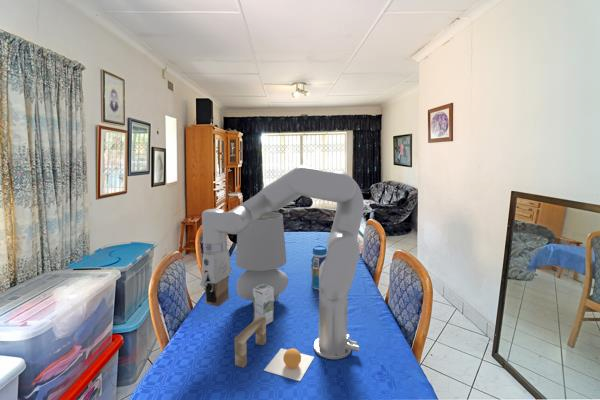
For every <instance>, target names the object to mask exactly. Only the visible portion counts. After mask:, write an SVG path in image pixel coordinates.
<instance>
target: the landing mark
mask: <svg viewBox="0 0 600 400" xmlns="http://www.w3.org/2000/svg"><path fill="white" fill-rule="evenodd" d="M287 350H288V349H286V348H282V347H281V348H280V349H279V351H277V353H276V354H275V355H274V356H273V358H272V359H271V360H270V362H269V363H268V364H267V365H266V367H265V368H264V369H263V372H267V373H271V374H274V375H278V376H280V377H284V378H287V379H291V380H294V381H297V382H301V380H302V379H303V377H304V375H306V372H307V371H308V369H309V367H310V365H312V362H313V360H314V359H315V356H313V355H308V354H305V353H301V352H299V353H300V355H301V362H300V364H299V365H298V366H297V367H295V368H289V367H287V366H286V365H285V363H284V359H283V357H284V354H285V352H286V351H287Z"/></svg>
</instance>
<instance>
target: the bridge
mask: <svg viewBox="0 0 600 400" xmlns="http://www.w3.org/2000/svg"><path fill="white" fill-rule="evenodd" d="M254 334H255V344H256V345H260V346H264V345H265V344H266V343H267V325H266V318H263V317H259V316H258V317H257V318H256V319H255V320H254V319H253V321H252V322H251V323H250V324H248V325H247V326H246V327H245V328H244V329H243V330H242V331H240V332H239V333H238V335H236V336H235V337H234V339H233V340H234V341H233V342H234V364H235V365H234V366H237V367H240V368H245V367H246V366H247V364H248V359H247V358H248V356H247V355H248V353H247V352H248V351H247V348H248V347H247V341H248V340H249V338H251V337H252V336H253V335H254Z"/></svg>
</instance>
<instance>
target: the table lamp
mask: <svg viewBox="0 0 600 400" xmlns="http://www.w3.org/2000/svg"><path fill="white" fill-rule="evenodd" d="M285 238H286V237H285V228H284V215H283V214H282V213H280V212H276V211H271V212H269V213H267V214H265V215H263V216H262V217H260V218H258V219H257V220H255V221H254V222H252V223H251V224H249V225H248V226H247V227H246V228H245V229H244V230H243V231H242V232H241V233H239V234H236V253H235V254H236V256H235V257H236V258H235V264H236V265H235V266H237V267H238V268H239V269H242V270H244V271H243V272H242V273H241V275H240V276H239V278H238V279H237V281H236V293H237V295H238V296H239V297H240V298H242V299H243V300H247V301H251V302H252V303H253V288H255V287H257V286H259V285H262V284H267V285H269V286H271V287H273V288H274V302H278V301H279V297H280V295H281V294H282V293H283V292H285V290H286V289H287V287H288V284H289V277H288V274H286V273H285V272H283V271H282V270H280V269H279V268H281V267H283V266H285V265H286V264H287V262H288V261H287V251H286V241H285Z"/></svg>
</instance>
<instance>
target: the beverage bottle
mask: <svg viewBox="0 0 600 400" xmlns="http://www.w3.org/2000/svg"><path fill="white" fill-rule="evenodd" d="M327 250H328V247H327V246H325V245H315V246H313V247H312V254H313V256H312V257H311V260H310V262H311V264H310V268H311V282H310V283H311V287H312V289H315V290H319V268H320V265H321V263H322V262H323V261H324V260H325V258H326V255H327Z"/></svg>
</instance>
